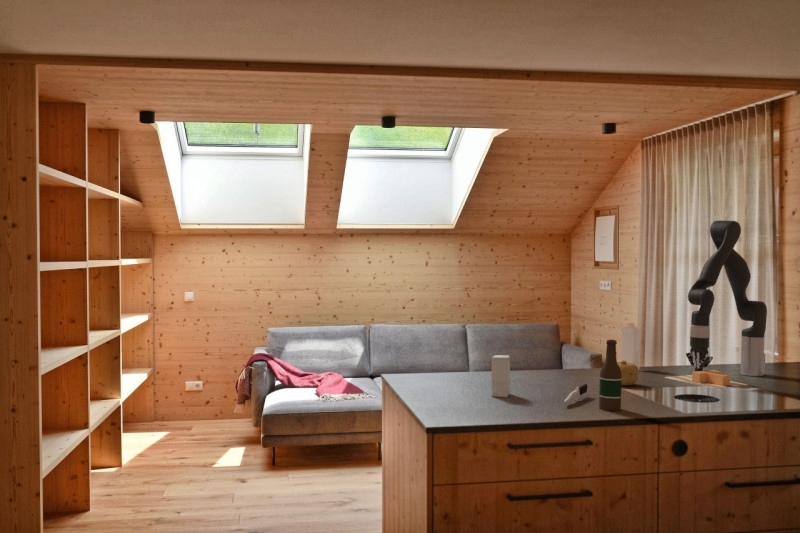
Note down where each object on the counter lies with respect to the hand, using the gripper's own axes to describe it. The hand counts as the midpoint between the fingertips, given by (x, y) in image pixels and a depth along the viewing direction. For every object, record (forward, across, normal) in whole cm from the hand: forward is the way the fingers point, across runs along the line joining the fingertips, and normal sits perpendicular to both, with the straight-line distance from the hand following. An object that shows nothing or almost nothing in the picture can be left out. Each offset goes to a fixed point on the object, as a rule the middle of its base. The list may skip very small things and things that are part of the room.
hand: (698, 376), depth 305 cm
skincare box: (+3, +6, +94) cm, 94 cm away
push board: (+2, -4, 0) cm, 4 cm away
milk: (+3, +32, +8) cm, 33 cm away
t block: (+1, -8, 0) cm, 8 cm away
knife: (+3, -14, +75) cm, 76 cm away
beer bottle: (+2, -28, +70) cm, 76 cm away
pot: (+3, +6, +35) cm, 35 cm away
